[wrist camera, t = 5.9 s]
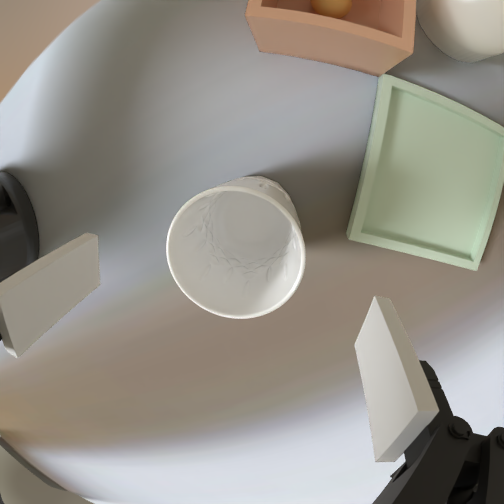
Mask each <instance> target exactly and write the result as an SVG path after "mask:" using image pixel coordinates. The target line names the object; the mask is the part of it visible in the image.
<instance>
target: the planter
mask: <svg viewBox="0 0 504 504" xmlns="http://www.w3.org/2000/svg"><path fill="white" fill-rule="evenodd" d="M245 17H246V20H247V22H248V24H249V27H250V29H251V32H252V34H253V36H254V39H255V41H256V44H257V46H258V49H259V51H260V52H267V53H275V54H281V55H287V56H293V57H299V58H304V59H310V60H314V61H319V62H324V63H328V64H333V65H337V66H341V67H345V68H349V69H352V70H356V71H360V72H363V73H367V74H370V75H373V76H377V77H380V76H381V75H382V74H384V73H385V72H387V71H388V70H390V69H391V68H393V67H394V66H395V65H397V64H398V63H400V62H401V61H403V60H404V59H406V58H407V57H409V56H410V55H412V54H413V48H414V36H415V19H416V0H352V7H351V10H350V11H349V13H348V14H347V15H345V16H344V17H341V18H338V19H336V18H331V17H327V16H322V15H319V14H318V13H317V12H316V11H315V10H314V9H313V7H312V5H311V1H310V0H248V4H247V8H246V13H245Z"/></svg>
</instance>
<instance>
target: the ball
mask: <svg viewBox="0 0 504 504" xmlns="http://www.w3.org/2000/svg"><path fill="white" fill-rule="evenodd" d="M310 1H311V5H312V7H313V9H314V10H315V11H316V12H317V13H318V14H319V15H322V16H327V17H331V18H336V19H338V18H341V17H344V16H345V15H347V14H348V13H349V11H350V10H351V7H352V0H310Z"/></svg>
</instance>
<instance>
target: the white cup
mask: <svg viewBox="0 0 504 504" xmlns="http://www.w3.org/2000/svg"><path fill="white" fill-rule="evenodd" d="M166 253H167V260H168V265H169V268H170V271H171V273H172V276H173V278H174V280H175V281H176V283H177V285H178V286H179V287H180V289H181V290H182V291H183V292H184V294H185V295H186V296H187V297H188V298H189V299H191V300H192V301H193V302H194V303H195V304H197V305H198V306H200V307H201V308H203V309H205V310H207V311H209V312H211V313H214V314H216V315H219V316H223V317H228V318H236V319H245V318H254V317H258V316H262V315H265V314H267V313H270V312H272V311H274V310H275V309H277V308H279V307H280V306H281V305H283V304H284V303H285V302H286V301H287V300H288V299H289V298H290V297H291V296H292V295H293V294H294V292H295V291H296V289H297V288H298V286H299V284H300V282H301V280H302V277H303V274H304V270H305V263H306V251H305V244H304V240H303V235H302V231H301V226H300V222H299V218H298V215H297V212H296V209H295V207H294V205H293V203H292V201H291V197H290V196H289V194H288V193H287V192H286V191H285V190H284V189H283V188H282V187H281V186H280V184H279V183H277V182H275V181H273V180H270V179H268V178H265V177H263V176H248V177H241V178H237V179H233V180H230V181H227V182H225V183H222V184H220V185H217V186H215V187H213V188H211V189H208V190H206V191H204V192H201V193H199V194H198V195H196V196H194V197H193V198H191V199H190V200H189V201H188V202H186V203H185V204H184V205H183V206H182V207H181V209H180V210H179V211H178V212H177V214H176V215H175V217H174V219H173V221H172V223H171V225H170V228H169V231H168V235H167V242H166Z"/></svg>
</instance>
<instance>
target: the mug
mask: <svg viewBox="0 0 504 504" xmlns="http://www.w3.org/2000/svg"><path fill="white" fill-rule="evenodd" d="M416 14H417V18H418V21H419V23H420V25H421V27H422V29H423V31H424V32H425V34H426V35H427V37H428V38H429V39H430V40H431V41H432V43H433V44H434V45H435V46H436V47H437V48H438V49H440V50H441V51H442V52H443V53H445V54H446V55H448V56H449V57H451V58H453V59H455V60H458V61H461V62H466V63H473V62H477V61H480V60H483V59H486V58H489V57H492V56H495V55H499V54H502V53H504V0H416Z"/></svg>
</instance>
